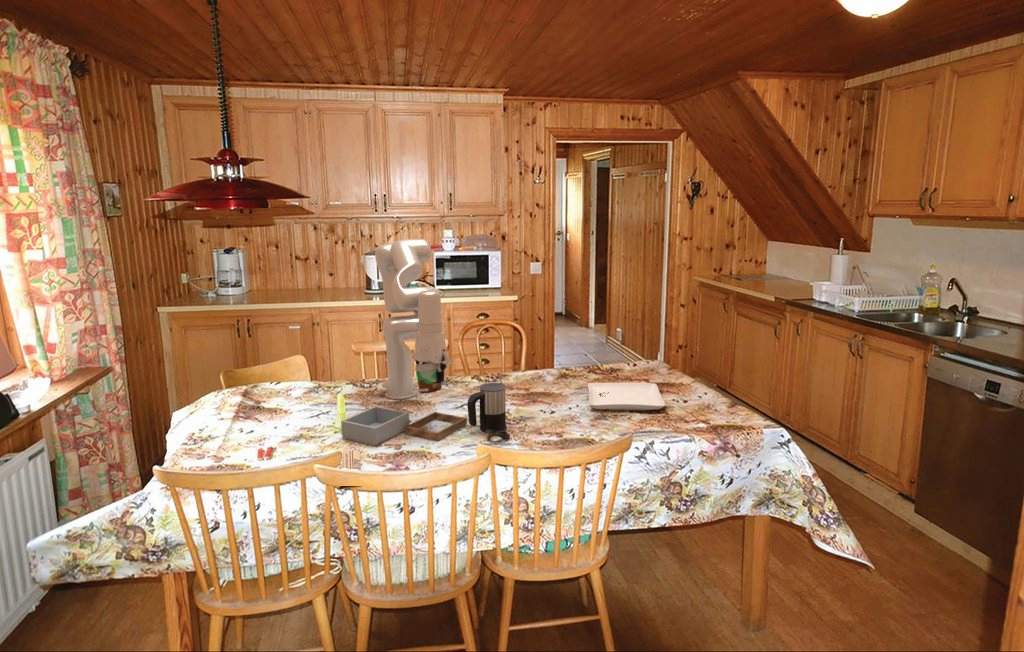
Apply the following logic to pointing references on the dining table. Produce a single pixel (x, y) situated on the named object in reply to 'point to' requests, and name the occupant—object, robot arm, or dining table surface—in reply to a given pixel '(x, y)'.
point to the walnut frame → (414, 431)
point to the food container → (427, 377)
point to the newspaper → (351, 460)
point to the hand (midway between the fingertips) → (432, 380)
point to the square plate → (625, 396)
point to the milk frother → (489, 409)
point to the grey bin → (375, 425)
